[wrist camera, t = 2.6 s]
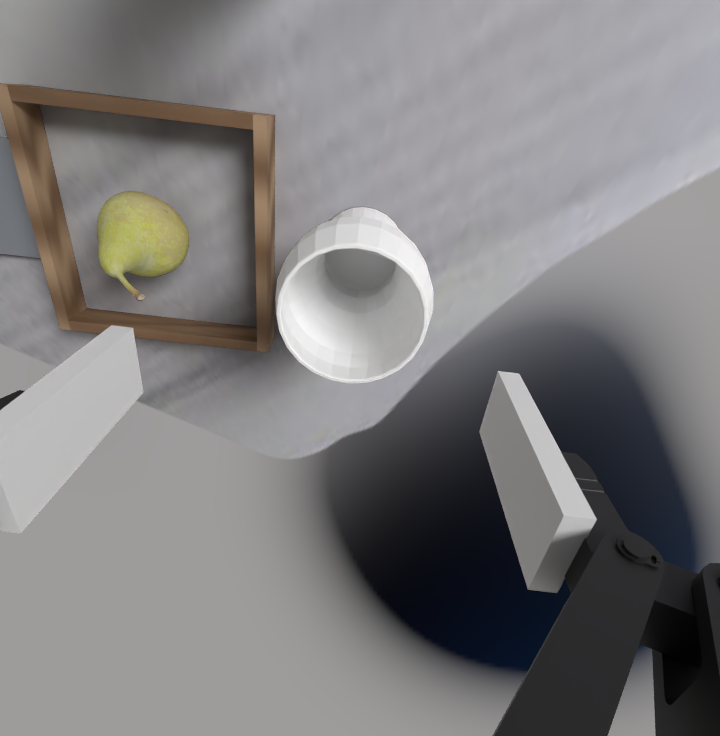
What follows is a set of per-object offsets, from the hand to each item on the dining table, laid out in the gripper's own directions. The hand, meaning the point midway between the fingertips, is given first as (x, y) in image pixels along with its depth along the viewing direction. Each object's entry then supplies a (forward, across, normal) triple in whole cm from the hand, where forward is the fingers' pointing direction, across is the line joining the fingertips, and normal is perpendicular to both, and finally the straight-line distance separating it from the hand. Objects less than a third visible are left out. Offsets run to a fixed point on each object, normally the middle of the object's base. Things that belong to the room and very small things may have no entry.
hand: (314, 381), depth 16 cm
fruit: (+27, -17, -2) cm, 32 cm away
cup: (+27, +1, -2) cm, 27 cm away
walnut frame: (+26, -17, -2) cm, 32 cm away
